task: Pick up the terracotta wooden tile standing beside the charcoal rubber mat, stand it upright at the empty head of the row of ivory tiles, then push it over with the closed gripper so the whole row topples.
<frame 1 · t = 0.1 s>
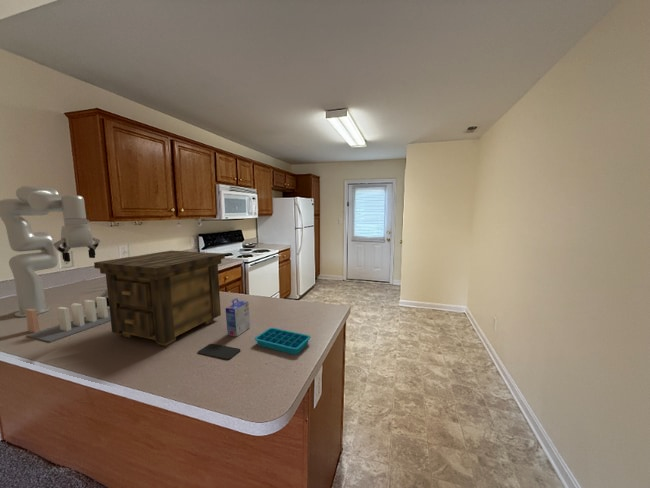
hand: (80, 259, 121), 31 cm above the countertop, tool pointing down, fingers open, 9 cm apart
ivory tile C: (79, 324, 123), resting on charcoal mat
ice cube tray: (282, 345, 105), on the countertop
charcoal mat: (84, 323, 125), on the countertop
ink cartridge box: (238, 331, 116), on the countertop
ivory tile B: (91, 320, 127), resting on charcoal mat
terracotta tile: (34, 331, 118), on the countertop
ivory tile A: (103, 316, 132), resting on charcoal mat
wooden nightstand: (170, 328, 120), on the countertop
phone: (219, 353, 99), on the countertop
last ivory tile: (65, 329, 118), resting on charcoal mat
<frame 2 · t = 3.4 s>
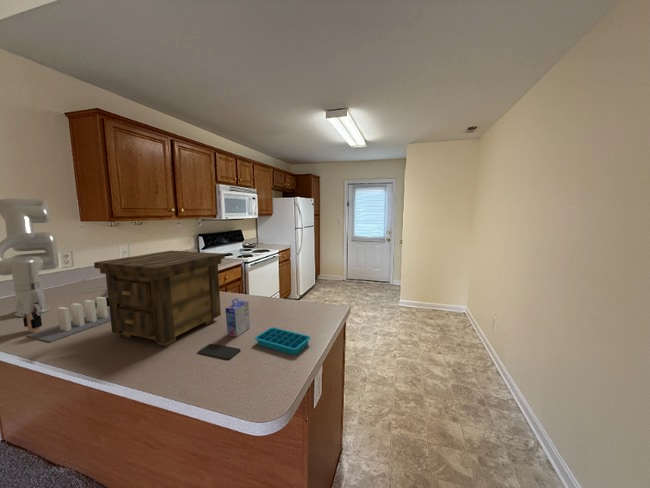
hand: (33, 325, 117), 2 cm above the countertop, tool pointing down, fingers closed on terracotta tile, 4 cm apart
terracotta tile: (33, 331, 118), on the countertop, touching gripper
everything else where it was.
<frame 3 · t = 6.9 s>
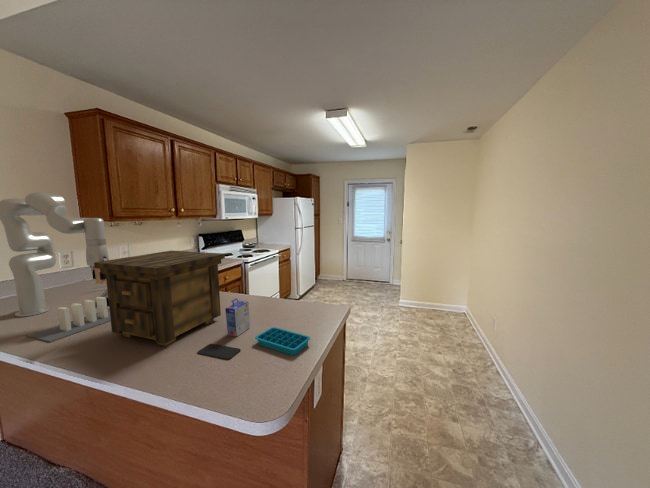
hand: (100, 278, 132), 20 cm above the countertop, tool pointing down, fingers closed on terracotta tile, 4 cm apart
terracotta tile: (100, 283, 132), point 17 cm above the countertop, touching gripper
everything else where it was.
when the fingers open (4 cm above the countertop, at t = 10.7 s): terracotta tile stays where it is, resting on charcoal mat.
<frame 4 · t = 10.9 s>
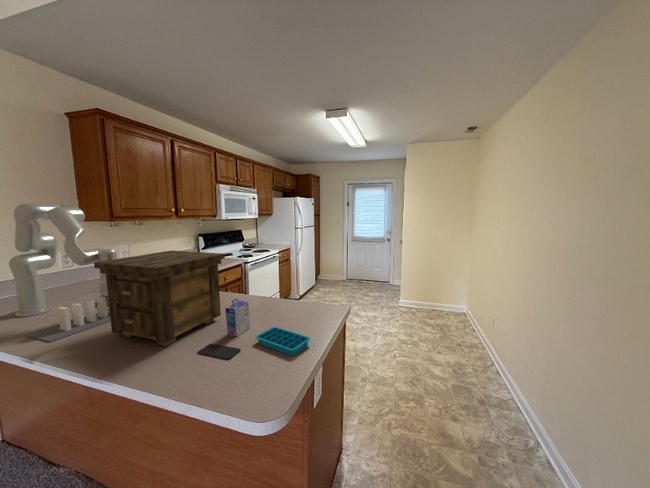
hand: (113, 306, 136), 4 cm above the countertop, tool pointing down, fingers open, 7 cm apart
terracotta tile: (113, 313, 137), resting on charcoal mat
everything else where it was.
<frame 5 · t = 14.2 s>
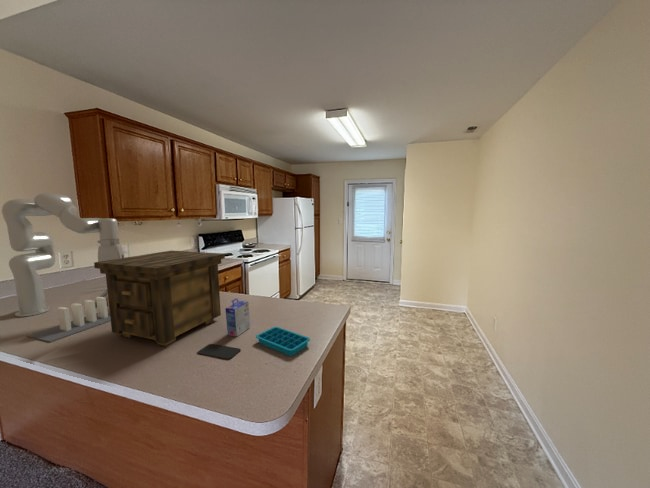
hand: (113, 277, 136), 19 cm above the countertop, tool pointing down, fingers closed
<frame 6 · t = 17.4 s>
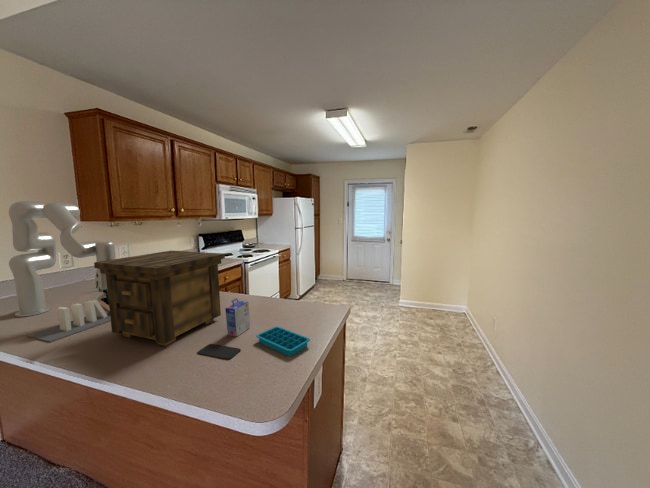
hand: (110, 300, 135), 8 cm above the countertop, tool pointing down, fingers closed
terracotta tile: (113, 312, 136), point 1 cm above the countertop, tilted 39°, touching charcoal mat
ivory tile A: (102, 316, 132), point 1 cm above the countertop, tilted 22°, touching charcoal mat
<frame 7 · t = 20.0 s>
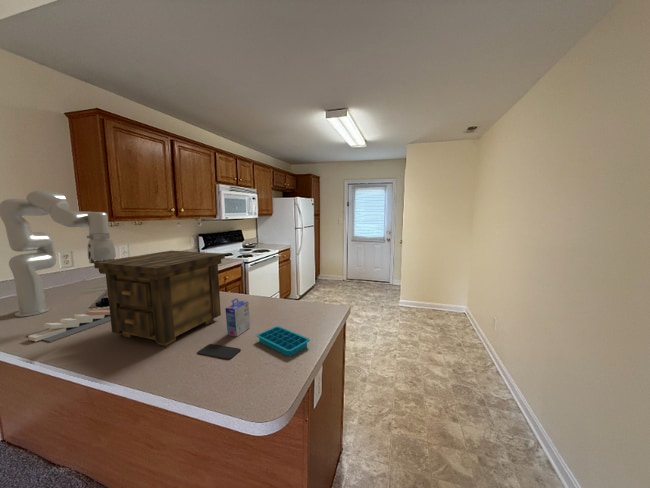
hand: (103, 273, 132), 22 cm above the countertop, tool pointing down, fingers closed
ivory tile C: (75, 324, 121), point 1 cm above the countertop, tilted 71°, touching ivory tile B, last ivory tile
ivory tile B: (89, 319, 126), point 1 cm above the countertop, tilted 71°, touching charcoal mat, ivory tile A, ivory tile C
terracotta tile: (111, 312, 136), point 1 cm above the countertop, tilted 71°, touching ivory tile A
ivory tile A: (100, 316, 131), point 1 cm above the countertop, tilted 71°, touching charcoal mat, ivory tile B, terracotta tile
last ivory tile: (62, 328, 117), point 1 cm above the countertop, tilted 90°, touching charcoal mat, ivory tile C
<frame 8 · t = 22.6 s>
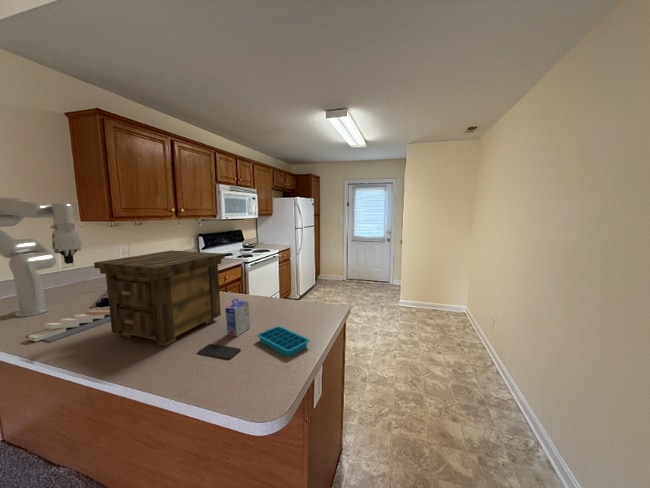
hand: (69, 263, 134), 27 cm above the countertop, tool pointing down, fingers closed
at the end: terracotta tile inside the target area (0.5 cm from its centre), point 1.3 cm above the countertop; terracotta tile tilted 71°; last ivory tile tilted 90° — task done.
